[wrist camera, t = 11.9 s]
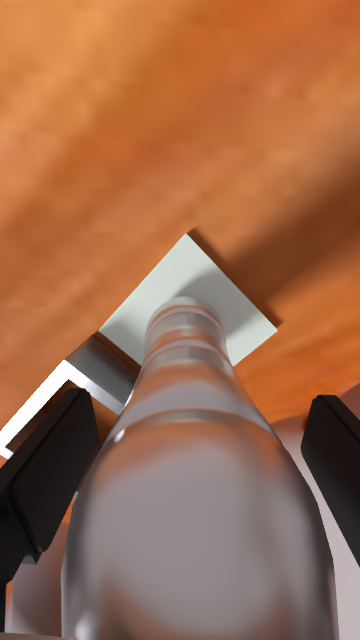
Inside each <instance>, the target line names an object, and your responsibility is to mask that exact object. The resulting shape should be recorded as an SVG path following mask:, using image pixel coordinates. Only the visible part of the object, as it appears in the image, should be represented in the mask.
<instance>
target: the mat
mask: <svg viewBox="0 0 360 640" xmlns="http://www.w3.org/2000/svg"><path fill="white" fill-rule="evenodd" d="M181 296H189V297H194V298H198V299H200V300H202V301H204V302H205V303H207V304H208V305H210V306H211V307H212V308H213V309H214V310H215V311H216V312H217V313H218V315H219V316H220V318H221V320H222V322H223V326H224V330H225V335H226V347H227V351H228V355H229V359H230V362H231V364H232V366H234V365H236V364H237V363H238V362H239V361H241V360H242V359H243V358H244V357H246V356H247V355H248V354H249V353H251V352H252V351H253V350H254V349H256V348H257V347H258V346H259V345H261V344H262V343H263V342H264V341H266V340H267V339H268V338H269V337H271V336H272V335H273V334H274V333H276V332H277V331H278V330H277V329H276V328H275V327H274V326H273V325H272V323H271V322H270V321H269V320H268V319H267V318H266V317H265V316H264V315H263V314H262V313H261V312H260V311H259V310H258V309H257V308H256V307H255V306H254V304H253V303H252V302H251V301H250V300H249V299H248V298H247V297H246V296H245V295H244V294H243V293H242V292H241V291H240V290H239V289H238V288H237V287H236V285H235V284H234V283H233V282H232V281H231V280H230V279H229V278H228V277H227V276H226V275H225V274H224V273H223V272H222V271H221V270H220V269H219V268H218V266H217V265H216V264H215V263H214V262H213V261H212V260H211V259H210V258H209V257H208V256H207V255H206V254H205V253H204V252H203V251H202V250H201V249H200V247H199V246H198V245H197V244H196V243H195V242H194V241H193V240H192V239H191V238H190V237H189V236H188V235H187V234H186V233H185V235H184V236H183V237H182V238H181V239H180V240H179V241H178V242H177V243H176V245H175V246H174V247H173V248H172V249H171V250H170V251H169V252H168V253H167V255H166V256H165V257H164V258H163V259H162V260H161V261H160V262H159V263H158V265H157V266H156V267H155V268H154V269H153V270H152V271H151V272H150V273H149V275H148V276H147V277H146V278H145V279H144V280H143V281H142V282H141V283H140V285H139V286H138V287H137V288H136V289H135V290H134V291H133V292H132V293H131V295H130V296H129V297H128V298H127V299H126V300H125V301H124V302H123V303H122V305H121V306H120V307H119V308H118V309H117V310H116V311H115V312H114V313H113V315H112V316H111V317H110V318H109V319H108V320H107V321H106V322H105V323H104V325H103V326H102V327H101V328H100V329H99V330H98V331H99V332H101V333H102V334H103V335H104V336H105V337H107V338H108V339H109V340H110V341H112V342H113V343H114V344H115V345H116V346H118V347H119V348H120V349H121V350H122V351H124V352H125V353H126V354H127V355H129V356H130V357H131V358H132V359H133V360H135V361H136V362H137V363H138V364H140V365H141V366H142V365H143V359H144V354H145V332H146V327H147V323H148V321H149V319H150V317H151V315H152V314H153V313H154V311H155V310H156V309H157V308H159V307H160V306H161V305H162V304H163V303H165V302H166V301H168V300H170V299H173V298H176V297H181Z"/></svg>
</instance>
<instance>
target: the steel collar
mask: <svg viewBox="0 0 360 640" xmlns="http://www.w3.org/2000/svg"><path fill="white" fill-rule="evenodd" d="M138 376H139V372H138V371H136V370H135V369H134V368H133V367H132V366H130V365H129V364H128V363H127V362H125V361H124V360H123V359H122V358H120V357H119V356H118V355H117V354H116V353H114V352H113V351H112V350H111V349H109V348H108V347H107V346H106V345H104V344H103V343H102V342H101V341H100V340H98V339H97V338H96V337H95V336H93V335H91V336H90V337H89V338H88V339H87V340H86V341H85V342H83V343H82V344H81V345H80V346H79V347H78V348H77V349H76V350H75V351H73V352H72V353H71V354H70V355H69V356H68V357H67V358H66V359H64V360H63V362H62V363H61V364H60V365H59V366H58V367H57V368H56V369H55V371H54V372H53V373H52V374H51V375H50V376H49V377H48V379H47V380H46V381H45V382H44V383H43V384H42V385H41V386H40V388H39V389H38V390H37V391H36V392H35V393H34V394H33V395H32V397H31V398H30V399H29V400H28V401H27V402H26V403H25V405H24V406H23V407H22V408H21V409H20V410H19V411H18V412H17V414H16V415H15V416H14V417H13V418H12V419H11V420H10V421H9V423H8V424H7V425H6V426H5V427H4V428H3V429H2V431H1V432H0V455H2V456H3V457H5V458H7V459H9V458H10V457H11V456H12V455H13V453H14V452H15V451H16V450H17V449H18V448H19V446H20V445H21V444H22V443H23V442H24V441H25V439H26V438H27V437H28V436H29V435H30V434H31V432H32V431H33V430H34V429H35V428H36V427H37V426H38V424H39V423H40V422H41V421H42V420H43V419H44V417H45V416H46V415H47V413H46V412H44V411H43V410H42V409H40V408H41V407H42V406H43V405H44V404H45V403H46V402H47V401H48V400H49V398H50V397H51V396H52V395H53V394H54V393H55V392H56V391H57V390H58V389H59V388H60V387H61V386H62V384H63V383H64V382H65V381H66V380H67V379H70V380H71V381H73V382H74V383H75V384H77V385H78V386H79V387H81V388H85V389H86V390H87V392H90V395H92V396H93V397H94V398H96V399H97V400H98V401H100V402H101V403H102V404H104V405H105V406H106V407H108V408H109V409H111V410H112V411H113V412H115V413H116V414H117V415H120V413H121V412H122V410H123V408H124V406H125V404H126V403H127V401H128V399H129V397H130V395H131V392H132V390H133V387H134V385H135V383H136V380H137V378H138ZM99 452H100V449H99V448H98V447H97V448H96V450H95V452H94V455H93V457H92V459H91V461H90V463H89V465H88V467H87V469H86V471H85V473H84V475H83V478H82V480H81V482H80V484H79V486H78V488H77V490H76V492H75V494H74V496H73V498H74V499H76V497H77V495H78V493H79V491H80V489H81V487H82V485H83V483H84V481H85V479H86V476H87V474H88V472H89V470H90V468H91V466H92V464H93V462H94V460H95V458H96V456H97V454H98V453H99Z"/></svg>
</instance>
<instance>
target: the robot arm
mask: <svg viewBox="0 0 360 640" xmlns="http://www.w3.org/2000/svg"><path fill="white" fill-rule="evenodd" d="M98 443H99V434H98V429H97V424H96V419H95V415H94V410H93V405H92V400H91V395H90V392H87V390H86V389H85V388H70V389H69V390H68V391H67V392H66V393H65V394H64V395H63V397H62V398H61V399H60V400H59V401H58V402H57V403H56V405H55V406H54V407H53V408H52V409H51V410H50V412H49V413H48V414H47V415H46V416H45V417H44V419H43V420H42V421H41V422H40V423H39V424H38V426H37V427H36V428H35V429H34V430H33V431H32V432H31V434H30V435H29V436H28V437H27V438H26V439H25V441H24V442H23V443H22V444H21V445H20V446H19V448H18V449H17V450H16V451H15V452H14V453H13V455H12V456H11V457H10V458H9V459H8V460H7V461H6V463H5V464H4V465H3V466H2V467H1V468H0V640H79V639H69V638H60V637H50V636H41V635H29V634H15V633H12V596H13V595H12V594H13V577H14V575H15V574H16V572H17V570H18V568H19V566H20V564H21V563H24V564H35V565H36V564H37V562H38V560H39V558H40V556H41V554H42V552H45V551H46V550H47V549H48V548H49V546H50V544H51V542H52V540H53V538H54V536H55V534H56V532H57V530H58V528H59V526H60V524H61V522H62V519H63V517H64V515H65V513H66V511H67V509H68V507H69V505H70V503H71V501H72V498H73V496H74V494H75V492H76V490H77V488H78V486H79V484H80V482H81V480H82V478H83V475H84V473H85V471H86V469H87V467H88V465H89V463H90V461H91V459H92V457H93V455H94V452H95V450H96V448H97V446H98ZM301 453H302V455H303V458H304V460H305V462H306V464H307V466H308V468H309V469H310V471H311V473H312V475H313V477H314V479H315V481H316V483H317V485H318V487H319V489H320V491H321V493H322V495H323V497H324V499H325V501H326V503H327V505H328V507H329V508H330V510H331V512H332V514H333V516H334V518H335V520H336V522H337V524H338V526H339V528H340V530H341V532H342V534H343V536H344V538H345V540H346V542H347V544H348V546H349V548H350V550H351V551H352V553H353V555H354V557H355V559H356V561H357V563H358V565H359V567H360V420H359V419H358V418H357V417H356V416H355V415H354V414H353V413H352V412H351V411H350V410H349V409H348V407H347V406H346V405H345V404H344V403H343V402H342V401H341V400H340V399H339V398H338V397H337V396H335V395H318V396H317V397H316V398H314V399H313V400H312V404H311V408H310V412H309V416H308V420H307V423H306V427H305V431H304V435H303V439H302V443H301Z"/></svg>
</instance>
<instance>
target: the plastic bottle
mask: <svg viewBox="0 0 360 640" xmlns="http://www.w3.org/2000/svg"><path fill="white" fill-rule="evenodd" d="M61 600H62V601H61V602H62V603H61V604H62V638H69V639H79V640H339V627H338V614H337V600H336V587H335V574H334V565H333V558H332V554H331V550H330V547H329V543H328V540H327V536H326V532H325V529H324V525H323V522H322V518H321V514H320V511H319V507H318V504H317V501H316V499H315V497H314V495H313V493H312V491H311V489H310V487H309V485H308V484H307V482H306V480H305V479H304V477H303V476H302V474H301V472H300V471H299V469H298V467H297V466H296V464H295V462H294V460H293V459H292V457H291V455H290V454H289V452H288V451H287V450H286V449H285V448H284V446H283V444H282V442H281V441H280V440H279V438H278V437H277V435H276V434H275V432H274V431H273V429H272V428H271V427H270V425H269V424H268V422H267V421H266V419H265V418H264V417H263V415H262V414H261V412H260V411H259V409H258V408H257V406H256V405H255V404H254V402H253V401H252V399H251V398H250V396H249V395H248V393H247V392H246V391H245V389H244V387H243V385H242V383H241V381H240V379H239V377H238V376H237V374H236V372H235V370H234V368H233V366H232V364H231V362H230V359H229V355H228V351H227V347H226V335H225V330H224V326H223V322H222V320H221V318H220V316H219V315H218V313H217V312H216V311H215V310H214V309H213V308H212V307H211V306H210V305H208V304H207V303H205V302H204V301H202V300H200V299H198V298H194V297H189V296H181V297H176V298H173V299H170V300H168V301H166V302H165V303H163V304H162V305H161V306H160V307H159V308H157V309H156V310H155V311H154V313H153V314H152V315H151V317H150V319H149V321H148V323H147V327H146V332H145V354H144V359H143V365H142V368H141V370H140V373H139V376H138V378H137V380H136V383H135V385H134V387H133V390H132V392H131V395H130V397H129V399H128V401H127V403H126V404H125V406H124V408H123V410H122V412H121V413H120V415H119V417H118V419H117V420H116V422H115V424H114V426H113V428H112V429H111V431H110V433H109V435H108V436H107V438H106V440H105V442H104V444H103V446H102V448H101V450H100V452H99V453H98V454H97V456H96V458H95V460H94V462H93V464H92V466H91V468H90V470H89V472H88V474H87V476H86V479H85V481H84V483H83V485H82V487H81V489H80V491H79V493H78V495H77V497H76V499H75V501H74V504H73V507H72V513H71V519H70V524H69V530H68V536H67V542H66V548H65V553H64V559H63V565H62V571H61Z"/></svg>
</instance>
